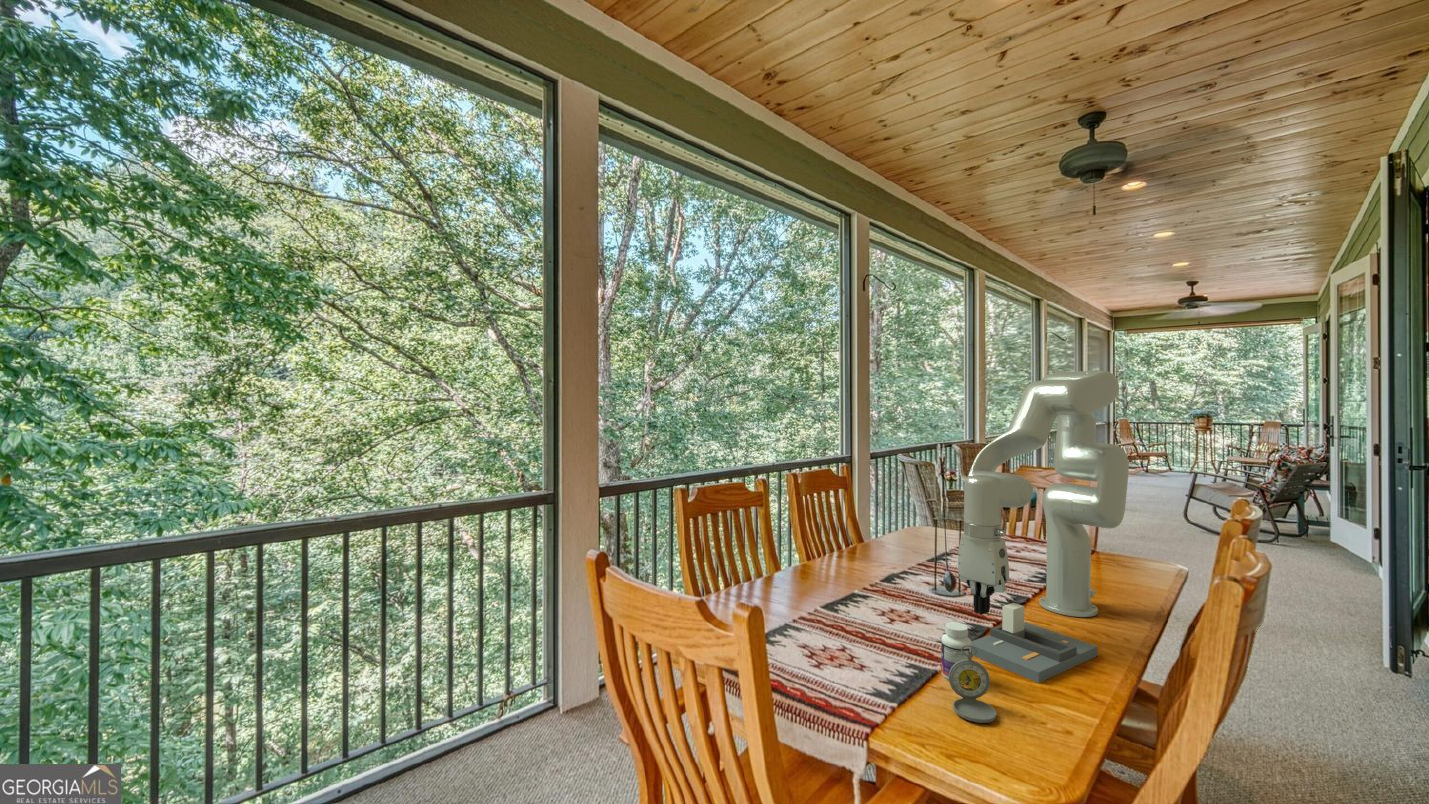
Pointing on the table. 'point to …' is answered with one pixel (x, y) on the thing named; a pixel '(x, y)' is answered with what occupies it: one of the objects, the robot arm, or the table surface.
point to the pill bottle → (954, 646)
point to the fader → (1013, 619)
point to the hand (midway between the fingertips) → (981, 612)
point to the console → (1033, 651)
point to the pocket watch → (971, 689)
